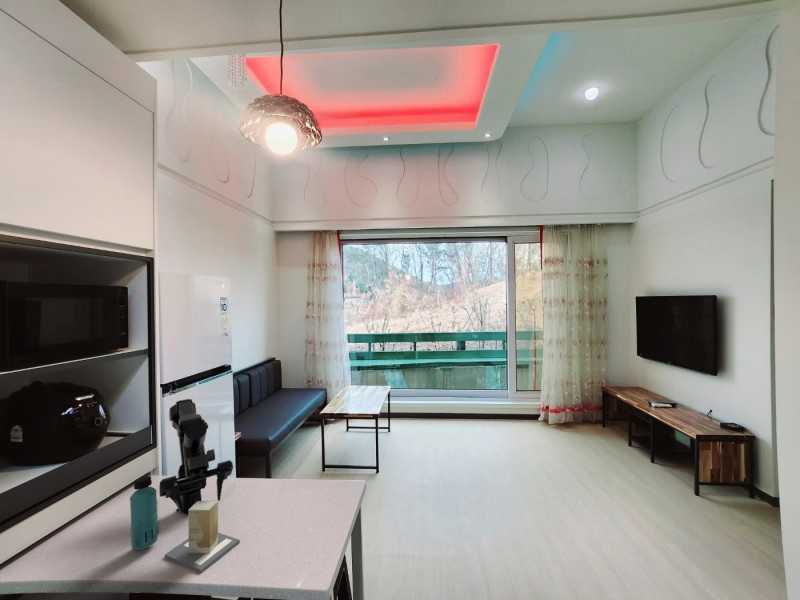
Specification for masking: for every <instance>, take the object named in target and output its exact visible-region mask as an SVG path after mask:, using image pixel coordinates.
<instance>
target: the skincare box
mask: <svg viewBox="0 0 800 600" xmlns="http://www.w3.org/2000/svg"><path fill="white" fill-rule="evenodd" d="M218 502H219V501H218V500H217V501H215V500H214V501H210V500H205V501H203V500H202V501H197V502H196V503H195V504H194V505H193V506H192V507H191V508H190V509H189V510H188V515H187V516H188V538H189V553H210V552H211V551H212V550H213V549H214V548H215V546H216V545H217V544H218V533H219V519H218V518H219V507H218V504H219V503H218Z"/></svg>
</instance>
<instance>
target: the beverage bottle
mask: <svg viewBox="0 0 800 600" xmlns="http://www.w3.org/2000/svg"><path fill="white" fill-rule="evenodd" d="M152 482H153V481H152V476H150V475H143V476H141V477H138V478H136V479H135V480H134V482H133V483H134V484H133V485H134V486H133V489H134V490H135V491H134V492H133V493H132V494H131V496H130V497H129V503H130V504H129V505H130V506H129V507H130V531H129V532H130V543H131V548H132V550H135V551H140V550H144V549H147V548H149V547H151V546H153V545H154V544H155V543H156V542H157V541H158V538H159V534H160V533H159V521H158V511H159V510H158V508H159V507H158V504H159V503H158V501H157V500H158V498H157V489H156V488H155V487H152V486H151V485H152Z"/></svg>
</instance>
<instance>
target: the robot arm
mask: <svg viewBox="0 0 800 600" xmlns="http://www.w3.org/2000/svg"><path fill="white" fill-rule="evenodd" d="M168 414H169V415H168V416H169V419H168V420H169V422H171V426H172V428H173V429H175V431H176V435H177V437H178V442H179V443H178V444H179V451H180V462H181V465H179V468H178V471H177V475H173V476H170V477H166V478H165V477H164V478H163V479H161V480H160V481H159V497H161V498H162V497H165V498H166V499H168V498H170V499H171V501H173V503H174V504H175V506H176V509H175V511H176V512H178V513H180V515H187V516H189V515H188V510H189V509H190V508H191V507H192V506H193V505H194V504H195V503H196V502H197V501H203V500H202V489H203V490H204V489H206V487H207V479H208V478H211V477H213V476H216V477H217V478H216V497H217V501H218V502H220V501H221V496H222V490H223V483H224V481H226V480H227V479H228V477H229V476H231V475H232V473H233V469H234V465H233V461H232V460H226V461H221V462H219V463H217V466H216V468H212V469H210V468H209V467H210V464H209V463H210V462H213V461H216V453H215V452H216V451H215V449H214V448H213V449H208V450H207V451H206V449H205V441H206V436H207V431H208V429H209V424H208V422H207V421H205V419H204V418H203V417H202V416H201V414H198V413H197V406H196V403H195V402H193V399H192V398H191V399H190V398H187V399H182V400H178V401H175V404H174V405H172V406H171V407H170V408H169V413H168Z"/></svg>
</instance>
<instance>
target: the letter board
mask: <svg viewBox="0 0 800 600" xmlns="http://www.w3.org/2000/svg"><path fill="white" fill-rule="evenodd" d="M240 541H241V540H240V539H239V538H236V537H232V536H229V535H226V534H223V533H221V532H218V544H217V545H216V546H215V548H214V549H213V550H212V551H211V552H210V553H189V537H188V538H187V539H185V540H184V541H182V542H181V543H180V544H178V545H176V546H175V547H174V548H172V549H170V550H169V551H167V552H166V553H165V554H164V555H163V556H164V557H163V558H164V559H168V560H169V561H171V562H173V563H177V564H179V565H182V566H183V567H187V568H188V569H191V570H194V571H196V572H198V573H199V574H200V573H201V574H202V573H203V572H205V571H206V570H207V569H208V568H210V567H211V566H212V565H213V564H215V563H216V562H217V561H218V560H219V559H221V558H222V557H224V555H226V554H227V553H228V552H229V551H231V550H232V549H234V548H235V547H236V546H237V545H238V544H240V543H241V542H240Z"/></svg>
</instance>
